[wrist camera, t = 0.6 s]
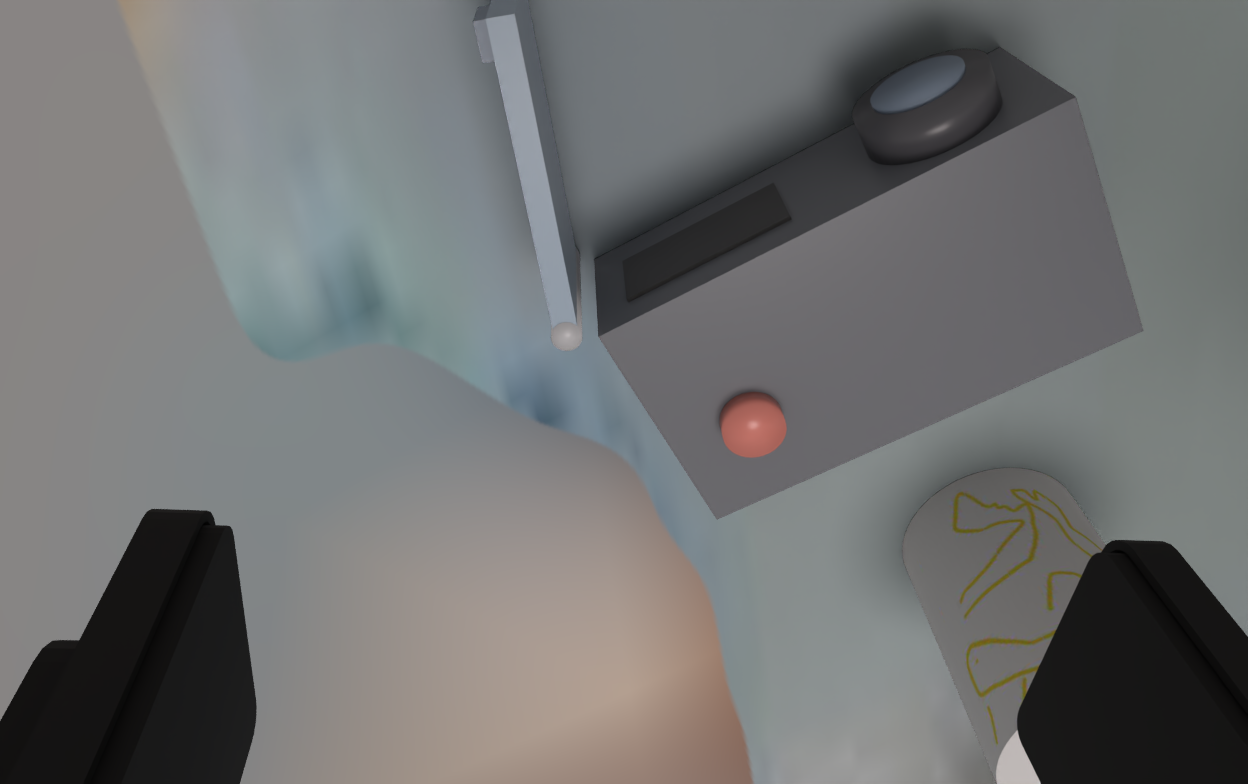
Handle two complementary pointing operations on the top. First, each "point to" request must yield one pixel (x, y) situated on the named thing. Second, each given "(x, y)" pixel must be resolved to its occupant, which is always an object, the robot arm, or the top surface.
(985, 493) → the cup
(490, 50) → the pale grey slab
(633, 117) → the top surface
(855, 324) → the camera body
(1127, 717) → the robot arm
